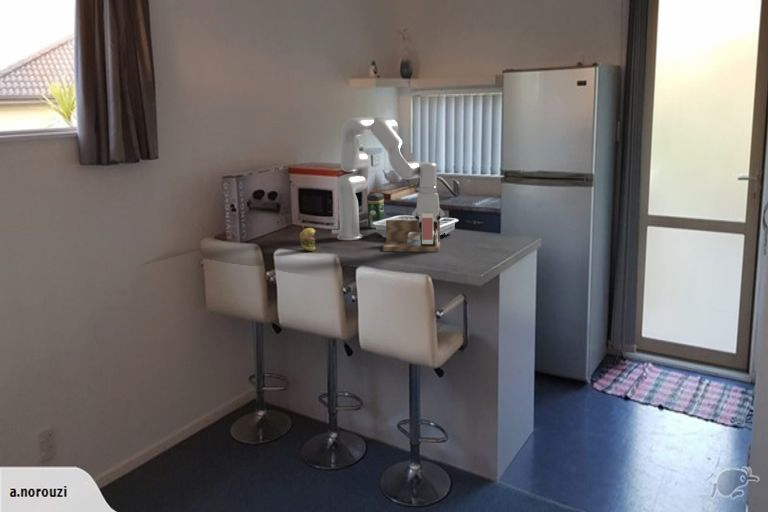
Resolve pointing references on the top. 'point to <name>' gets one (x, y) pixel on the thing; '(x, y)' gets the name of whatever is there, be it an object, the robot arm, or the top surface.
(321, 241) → the top surface
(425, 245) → the shelf
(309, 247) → the hamburger
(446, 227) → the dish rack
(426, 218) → the boxed book
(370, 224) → the coffee jar
